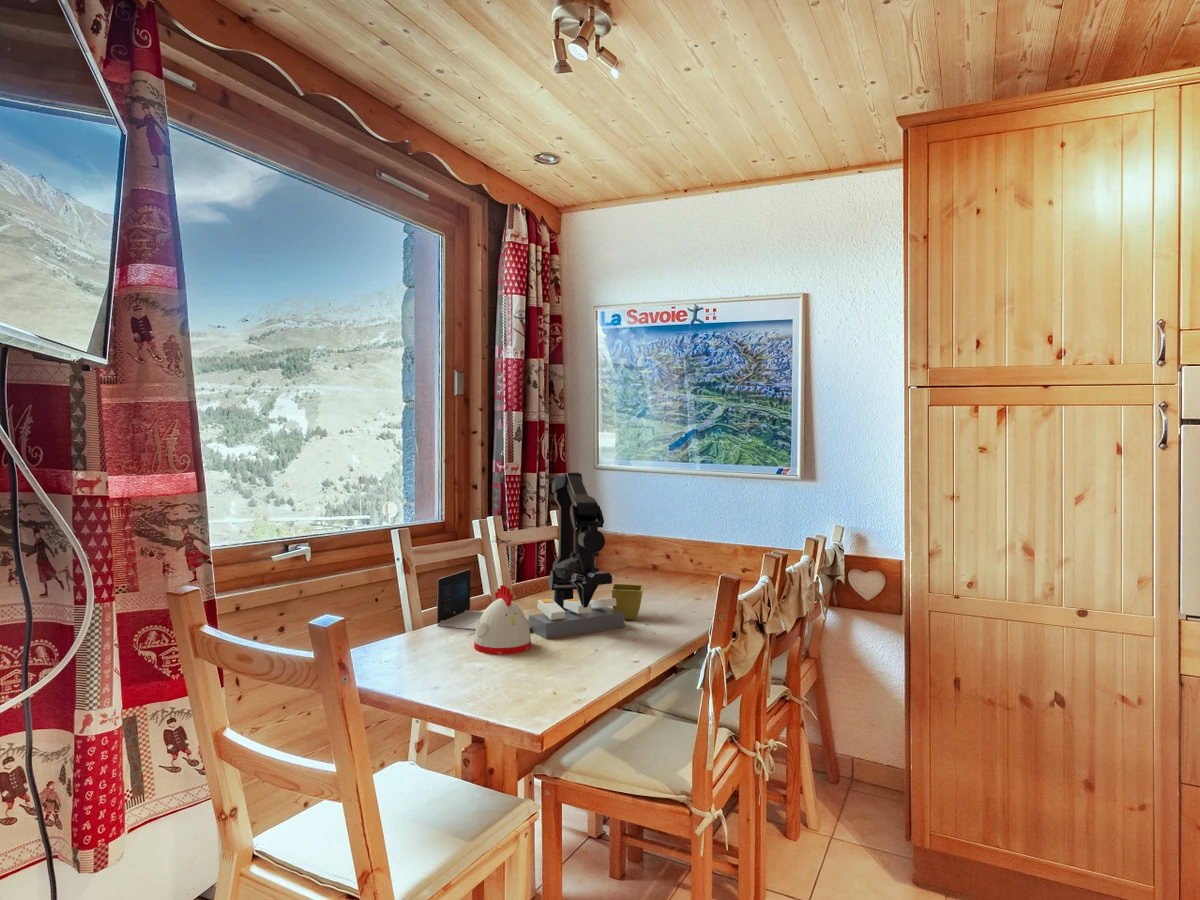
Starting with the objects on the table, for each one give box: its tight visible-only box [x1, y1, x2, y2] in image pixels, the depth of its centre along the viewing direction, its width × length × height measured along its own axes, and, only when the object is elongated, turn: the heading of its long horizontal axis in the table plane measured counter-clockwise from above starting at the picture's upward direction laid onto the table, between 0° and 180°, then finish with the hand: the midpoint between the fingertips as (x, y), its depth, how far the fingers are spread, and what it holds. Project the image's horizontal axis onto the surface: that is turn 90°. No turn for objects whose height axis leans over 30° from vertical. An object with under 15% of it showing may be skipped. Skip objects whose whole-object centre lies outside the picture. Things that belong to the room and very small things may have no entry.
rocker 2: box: [564, 598, 591, 614], centre depth 194 cm, size 8×4×2 cm, turn 32°
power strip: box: [528, 606, 625, 640], centre depth 192 cm, size 10×30×4 cm, turn 122°
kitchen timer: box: [473, 584, 532, 656], centre depth 176 cm, size 14×14×15 cm
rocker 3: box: [589, 597, 617, 608], centre depth 198 cm, size 8×4×2 cm, turn 33°
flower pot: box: [610, 583, 644, 621], centre depth 207 cm, size 9×9×9 cm
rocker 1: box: [536, 598, 565, 620], centre depth 190 cm, size 8×4×2 cm, turn 31°
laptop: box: [436, 568, 484, 631], centre depth 201 cm, size 18×12×13 cm
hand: (584, 607), depth 191 cm, fingers closed, pressing on rocker 2
